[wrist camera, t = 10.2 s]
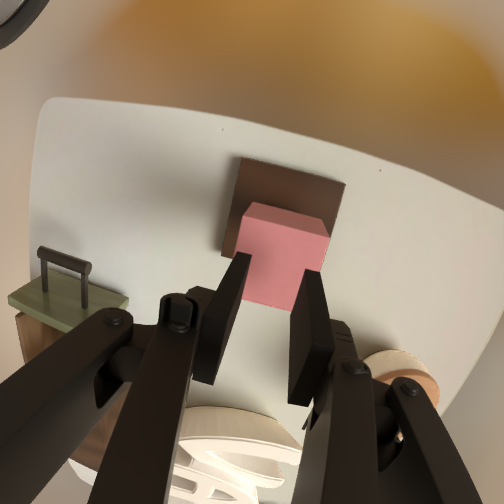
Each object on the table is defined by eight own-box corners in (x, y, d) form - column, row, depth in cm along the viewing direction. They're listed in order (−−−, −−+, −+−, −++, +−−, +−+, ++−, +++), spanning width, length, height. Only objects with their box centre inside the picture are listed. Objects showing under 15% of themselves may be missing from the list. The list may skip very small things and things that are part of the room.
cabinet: (57, 337, 41) (16, 375, 31) (133, 370, 40) (99, 420, 30) (68, 403, 46) (39, 441, 36) (134, 433, 45) (111, 478, 35)
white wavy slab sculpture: (200, 366, 38) (175, 426, 28) (318, 406, 38) (321, 468, 28) (158, 479, 50) (143, 518, 40) (236, 503, 50) (228, 544, 40)
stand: (243, 157, 30) (225, 159, 22) (344, 182, 30) (364, 194, 21) (223, 252, 33) (200, 287, 25) (316, 276, 33) (324, 318, 24)
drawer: (50, 229, 34) (2, 250, 26) (132, 254, 34) (89, 285, 25) (58, 353, 41) (26, 386, 32) (127, 384, 40) (100, 425, 32)
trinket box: (338, 341, 35) (349, 395, 26) (424, 327, 33) (453, 374, 24) (339, 405, 38) (346, 459, 29) (414, 392, 36) (434, 441, 28)
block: (252, 201, 22) (242, 215, 18) (321, 219, 22) (330, 237, 17) (237, 266, 24) (224, 295, 19) (302, 283, 24) (305, 315, 19)
